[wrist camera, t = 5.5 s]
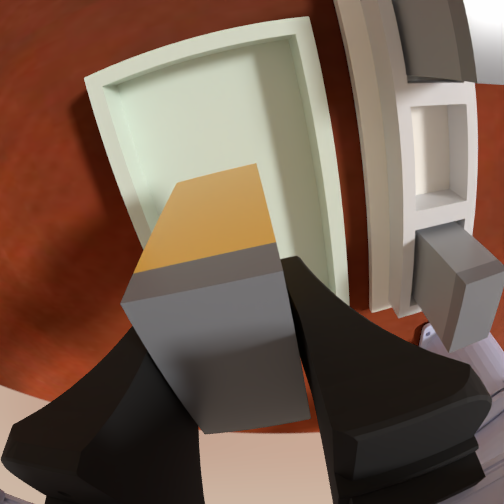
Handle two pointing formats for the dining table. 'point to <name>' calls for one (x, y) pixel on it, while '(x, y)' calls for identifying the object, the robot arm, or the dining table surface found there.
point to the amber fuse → (219, 306)
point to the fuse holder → (405, 149)
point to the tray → (230, 132)
